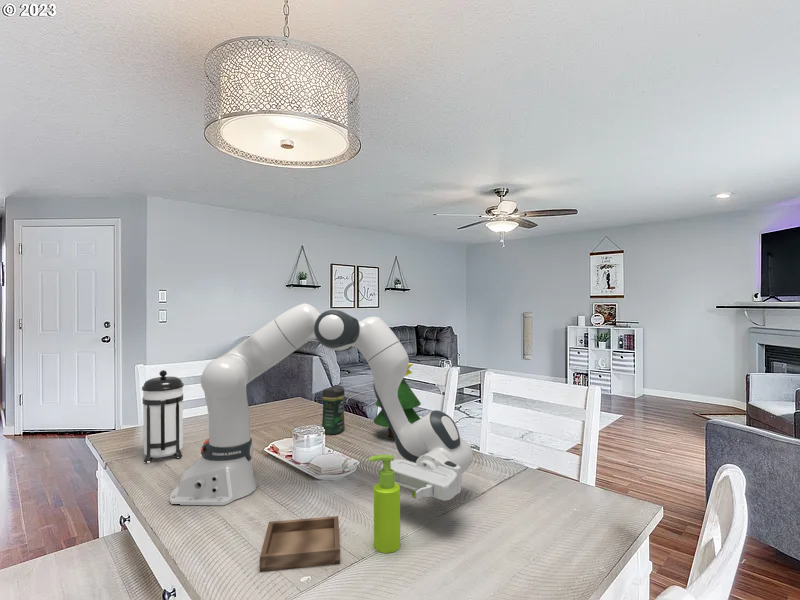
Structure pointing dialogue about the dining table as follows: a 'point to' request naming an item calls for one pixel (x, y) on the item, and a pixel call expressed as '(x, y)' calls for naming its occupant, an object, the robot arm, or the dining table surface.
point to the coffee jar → (333, 410)
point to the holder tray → (301, 544)
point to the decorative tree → (407, 403)
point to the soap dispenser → (386, 508)
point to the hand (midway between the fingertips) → (398, 489)
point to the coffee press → (163, 416)
